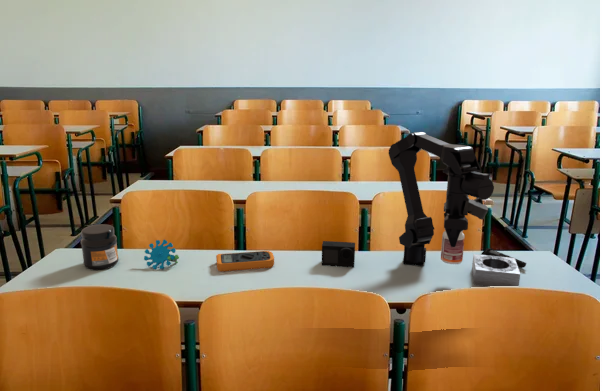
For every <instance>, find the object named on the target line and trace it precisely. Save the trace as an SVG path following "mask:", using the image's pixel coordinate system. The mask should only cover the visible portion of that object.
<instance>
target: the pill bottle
mask: <svg viewBox="0 0 602 391" xmlns="http://www.w3.org/2000/svg"><path fill="white" fill-rule="evenodd" d="M464 248H465V234H464V230H463V231H461V232H460V234H459V237H458V240H457V243H456V246H455V247H451V245H450V242H449V239H448V236H447V233H446V230H444V231H443V232H442V236H441V251H440V260H441V261H442V262H443V263H445V264H450V265H458V264H459V265H460V264H461V263H462V262H463V260H464V259H463V258H464Z"/></svg>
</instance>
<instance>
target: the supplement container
mask: <svg viewBox="0 0 602 391" xmlns="http://www.w3.org/2000/svg"><path fill="white" fill-rule="evenodd" d="M80 234H81V240H80V245H81V251H82V253H81V254H82V261H83V266H84V268H86V269H88V270H90V271H92V270H93V271H103V270H107V269H111V268H112V267H115V266H116V265H117V264H119V255H118V245H117V244H118V242H117V238H118V237H117V236H116V235H115V227H114V226H113V225H111V224H106V223H105V224H104V223H103V224H93V225H89V226H86V227H84V228H82V230H81V232H80Z"/></svg>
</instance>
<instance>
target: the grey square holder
mask: <svg viewBox="0 0 602 391" xmlns="http://www.w3.org/2000/svg"><path fill="white" fill-rule="evenodd" d="M472 254H473V255H472V263H471V264H472V266H471V270H472V271H471V272H472V279H473V286H479V287H485V286H519V287H520V280H521V272H520V268H518V266H517V263H516V260H515V259H516V257H513V258H509V257H498V256H488V255H481V254H477V253H475V254H474V253H472Z"/></svg>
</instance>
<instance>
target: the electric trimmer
mask: <svg viewBox="0 0 602 391" xmlns="http://www.w3.org/2000/svg"><path fill="white" fill-rule="evenodd" d="M480 255H488V256H498V257H509V258H514V257H512V256H510V255H508V254H505V253H503V252H499V251H498V250H494V249H493V248H491V247H487V248H485V249H483V251H481V253H480ZM515 260H516V263H517V266H518V269H519V270H520V269H523V268H526V265H527V262H526V261H525V262H524V261H522V260H519V259H517V258H515Z"/></svg>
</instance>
